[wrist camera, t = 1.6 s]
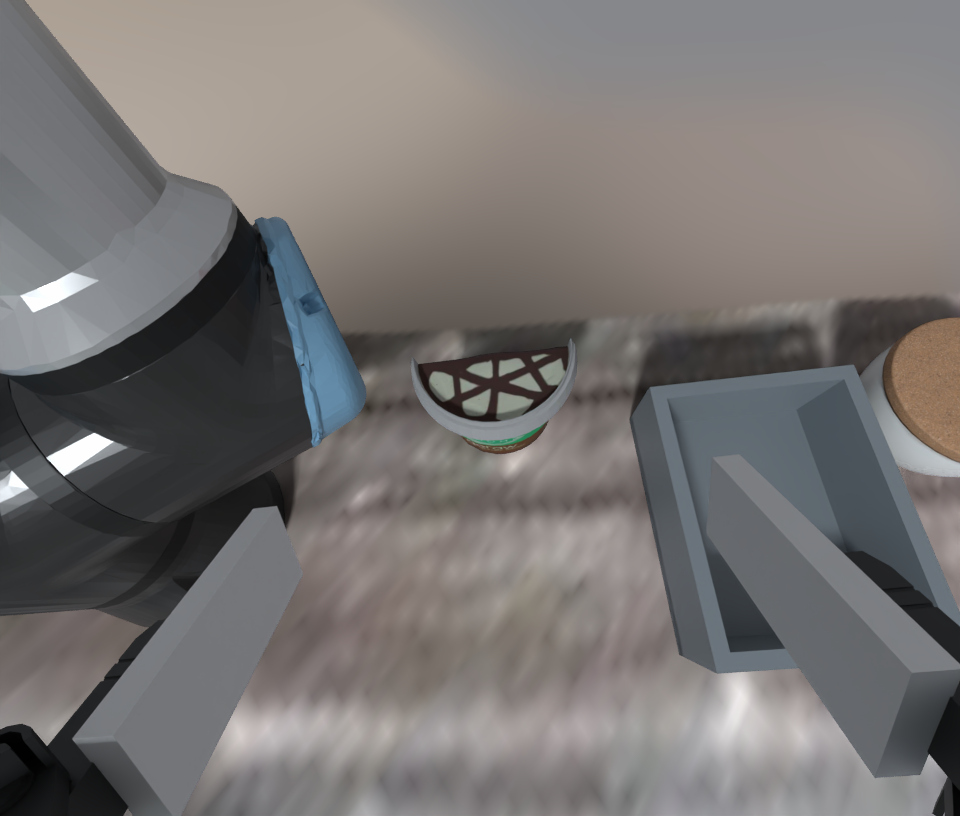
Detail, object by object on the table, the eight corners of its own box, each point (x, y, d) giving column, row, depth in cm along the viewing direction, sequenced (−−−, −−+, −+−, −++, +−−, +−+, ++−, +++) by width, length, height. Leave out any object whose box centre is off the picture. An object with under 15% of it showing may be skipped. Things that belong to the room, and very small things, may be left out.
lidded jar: (990, 497, 34) (1151, 468, 25) (834, 485, 35) (935, 454, 26) (952, 368, 37) (1080, 304, 29) (813, 363, 39) (894, 300, 30)
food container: (435, 474, 39) (405, 440, 30) (432, 408, 41) (404, 358, 32) (578, 459, 38) (594, 420, 29) (567, 393, 40) (579, 337, 31)
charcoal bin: (679, 654, 32) (717, 673, 26) (629, 419, 39) (649, 387, 32) (885, 640, 31) (978, 656, 25) (798, 401, 38) (854, 364, 31)
